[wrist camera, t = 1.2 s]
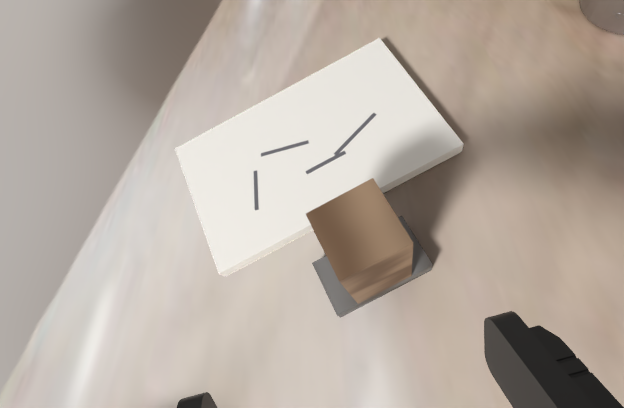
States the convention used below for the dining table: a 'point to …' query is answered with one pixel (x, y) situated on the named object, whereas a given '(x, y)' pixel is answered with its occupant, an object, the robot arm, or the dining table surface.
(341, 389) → the dining table surface
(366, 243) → the block
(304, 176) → the board
